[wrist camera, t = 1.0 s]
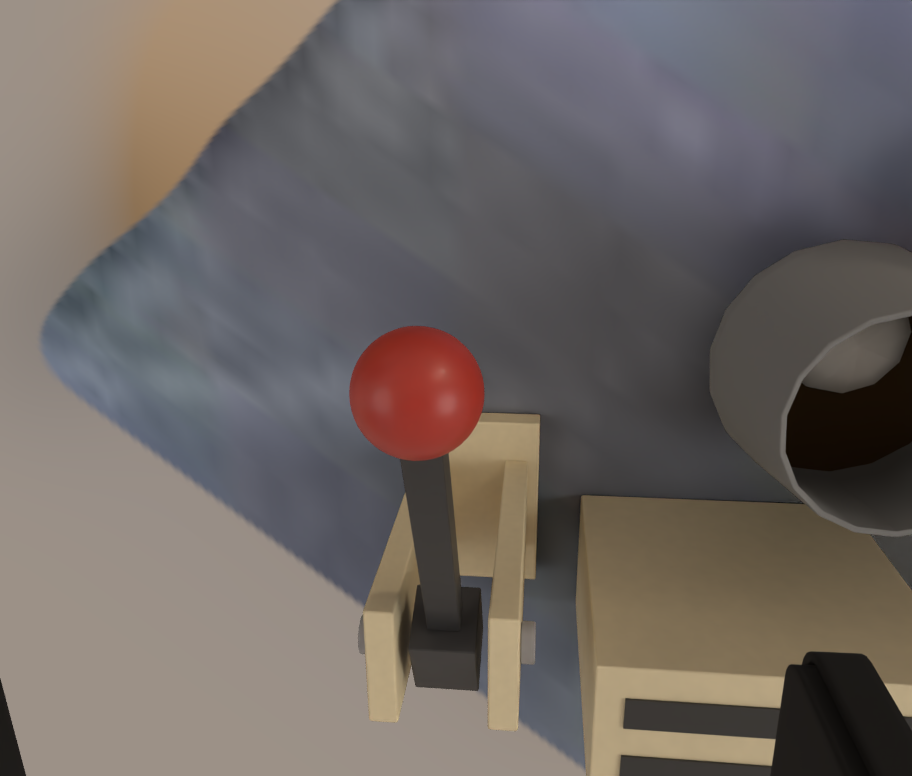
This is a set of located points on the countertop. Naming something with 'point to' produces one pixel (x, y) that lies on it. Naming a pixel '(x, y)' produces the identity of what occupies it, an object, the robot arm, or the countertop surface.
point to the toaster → (719, 627)
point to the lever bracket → (466, 567)
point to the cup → (825, 380)
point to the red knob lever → (428, 483)
